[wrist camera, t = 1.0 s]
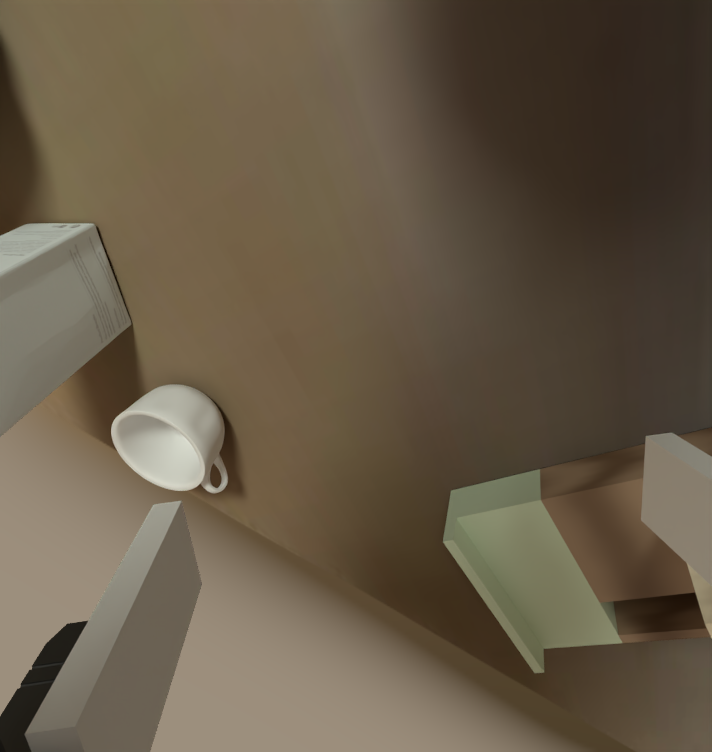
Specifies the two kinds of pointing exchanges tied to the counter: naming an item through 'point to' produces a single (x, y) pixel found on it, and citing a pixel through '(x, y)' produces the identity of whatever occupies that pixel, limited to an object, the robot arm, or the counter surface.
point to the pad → (525, 568)
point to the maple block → (703, 597)
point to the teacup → (172, 438)
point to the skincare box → (52, 310)
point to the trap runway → (624, 543)
